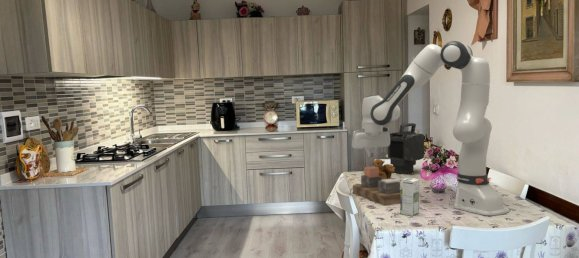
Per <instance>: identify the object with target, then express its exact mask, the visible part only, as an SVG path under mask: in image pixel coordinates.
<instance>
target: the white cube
mask: <svg viewBox="0 0 579 258" xmlns="http://www.w3.org/2000/svg"><path fill="white" fill-rule="evenodd" d="M381 181H382V182H385V183H394V182H397V181H398V180H395V179H393V178H391V179H385V180H381Z"/></svg>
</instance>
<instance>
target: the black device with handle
mask: <svg viewBox="0 0 579 258" xmlns="http://www.w3.org/2000/svg"><path fill="white" fill-rule="evenodd" d="M407 127H411V129H410V131H409V130H405V128H407ZM416 128H417V124H416V123H413V122H411V123H409V122H408V123H402V124H400V126H399V131H397V132H391V133H390V132H389V134H390V145H389V146H387V159H389V160H390V161H389V162H390V165H392V166H393V167H394V168H395V169H394V172H393V173H392V174H394V173H396V174H395V175H401V174H408V175H412V173H413V174H414V166H417V161H420V160H423V159H424V158H425V134H423V133H420V131H421V129H419V128H417V129H416ZM404 130H405V131H404ZM416 131H417V132H416Z"/></svg>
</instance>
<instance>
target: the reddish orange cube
mask: <svg viewBox="0 0 579 258" xmlns="http://www.w3.org/2000/svg"><path fill="white" fill-rule="evenodd" d="M363 170H364V171H363V172H364V174H363V175H364V176H366V177H369V178H372V177H379V168H378V167H374V166H373V165H370V166H364V169H363Z"/></svg>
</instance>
